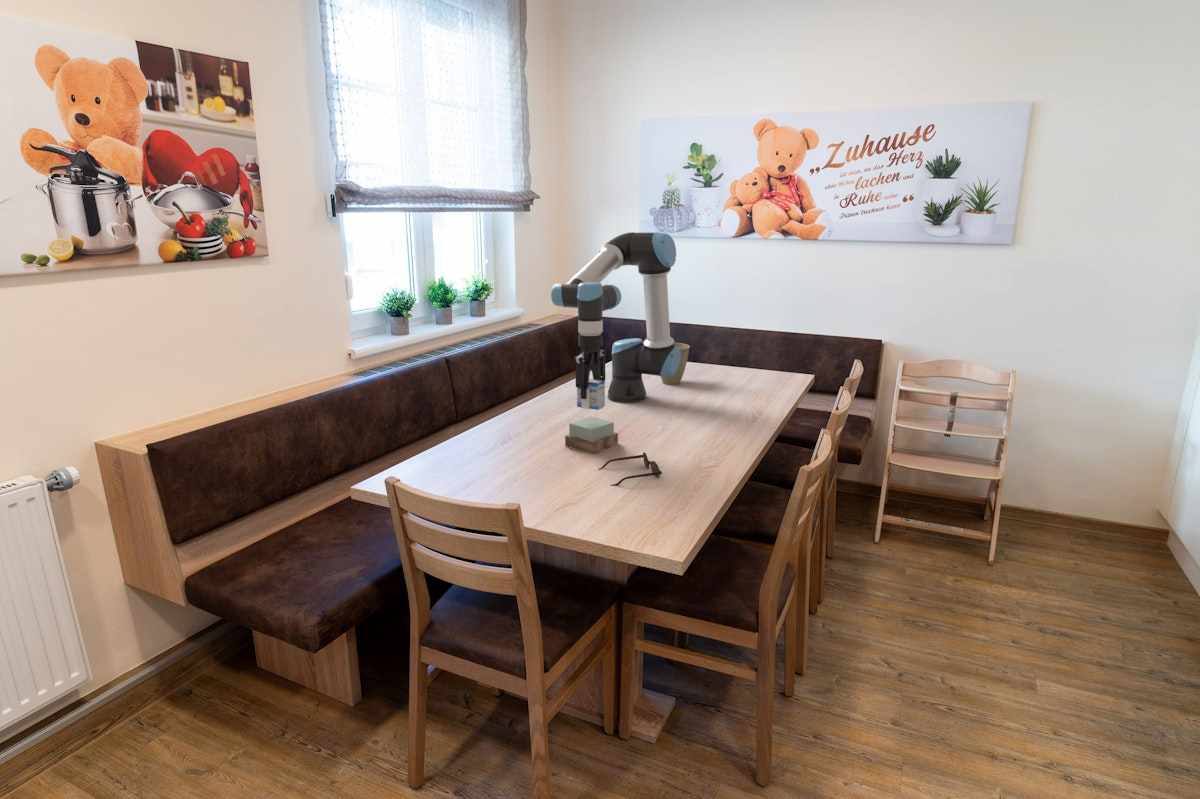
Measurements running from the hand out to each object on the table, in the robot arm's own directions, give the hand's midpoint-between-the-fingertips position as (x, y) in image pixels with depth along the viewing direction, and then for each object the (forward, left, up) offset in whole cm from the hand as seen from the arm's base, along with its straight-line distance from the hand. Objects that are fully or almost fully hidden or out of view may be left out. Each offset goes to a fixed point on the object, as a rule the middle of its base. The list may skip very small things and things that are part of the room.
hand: (591, 406), depth 227 cm
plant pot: (-82, -20, -13) cm, 85 cm away
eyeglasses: (+14, +24, -14) cm, 31 cm away
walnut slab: (0, 0, -13) cm, 13 cm away
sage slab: (0, 0, -9) cm, 9 cm away
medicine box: (0, 0, 0) cm, 0 cm away
